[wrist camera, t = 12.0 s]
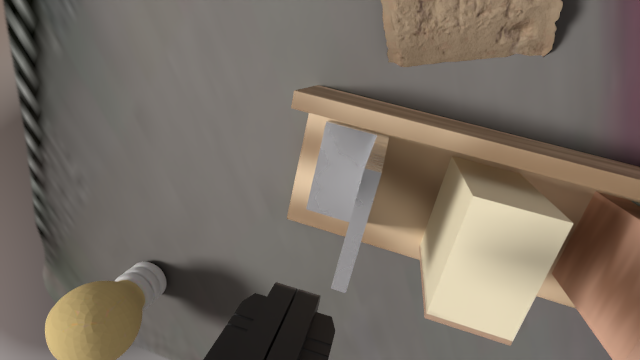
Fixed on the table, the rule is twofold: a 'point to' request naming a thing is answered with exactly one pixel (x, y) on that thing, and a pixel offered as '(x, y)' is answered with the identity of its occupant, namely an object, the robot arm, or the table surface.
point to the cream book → (487, 249)
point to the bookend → (347, 186)
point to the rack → (505, 153)
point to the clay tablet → (467, 29)
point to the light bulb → (103, 315)
